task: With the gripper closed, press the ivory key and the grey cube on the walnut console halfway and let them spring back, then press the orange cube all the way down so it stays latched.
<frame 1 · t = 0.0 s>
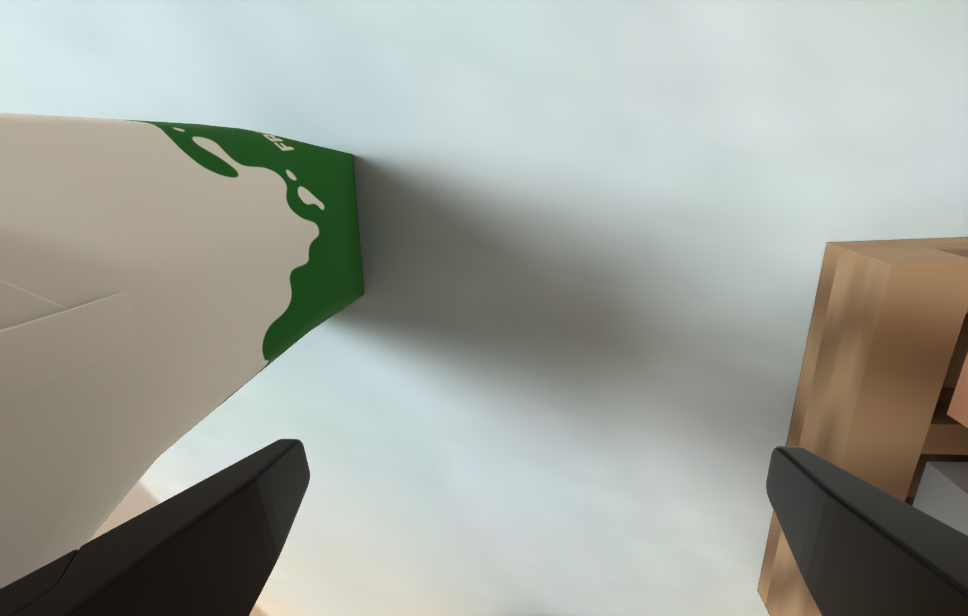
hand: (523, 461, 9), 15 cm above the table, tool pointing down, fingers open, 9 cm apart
milk carton: (296, 223, 23), on the table
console: (899, 444, 23), on the table
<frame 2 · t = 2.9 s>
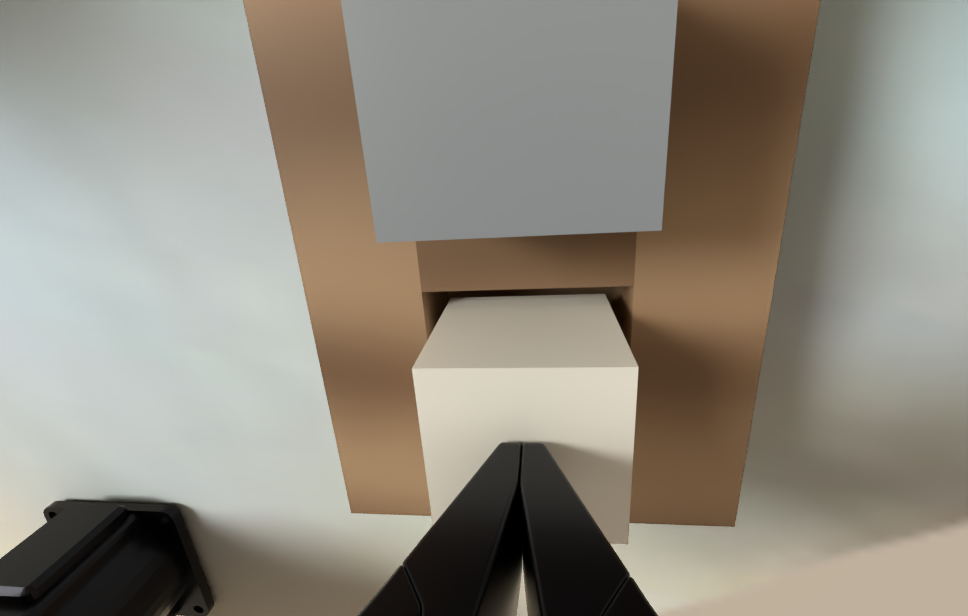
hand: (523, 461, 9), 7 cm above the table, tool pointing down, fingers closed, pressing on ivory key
grey cube: (514, 94, 7), point 6 cm above the table, slide at 0.2 cm
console: (523, 115, 13), on the table
ivory key: (527, 404, 10), point 5 cm above the table, slide at 1.0 cm, touching gripper
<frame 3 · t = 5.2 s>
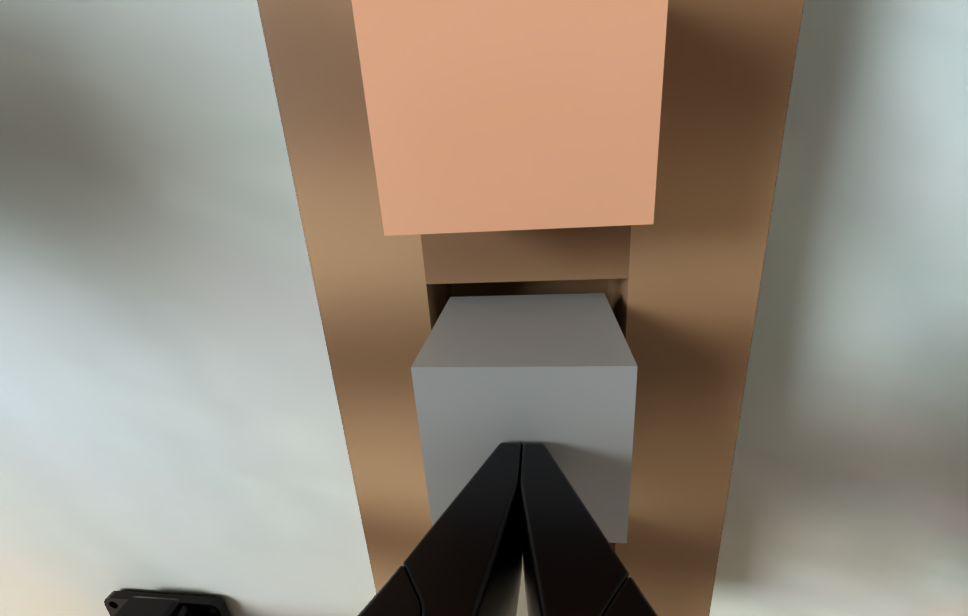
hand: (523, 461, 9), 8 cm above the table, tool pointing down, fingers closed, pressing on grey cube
grey cube: (526, 403, 10), point 6 cm above the table, slide at 0.4 cm, touching gripper
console: (529, 316, 16), on the table
orange cube: (514, 95, 8), point 6 cm above the table, slide at 0.0 cm
ivory key: (533, 602, 13), point 6 cm above the table, slide at 0.4 cm
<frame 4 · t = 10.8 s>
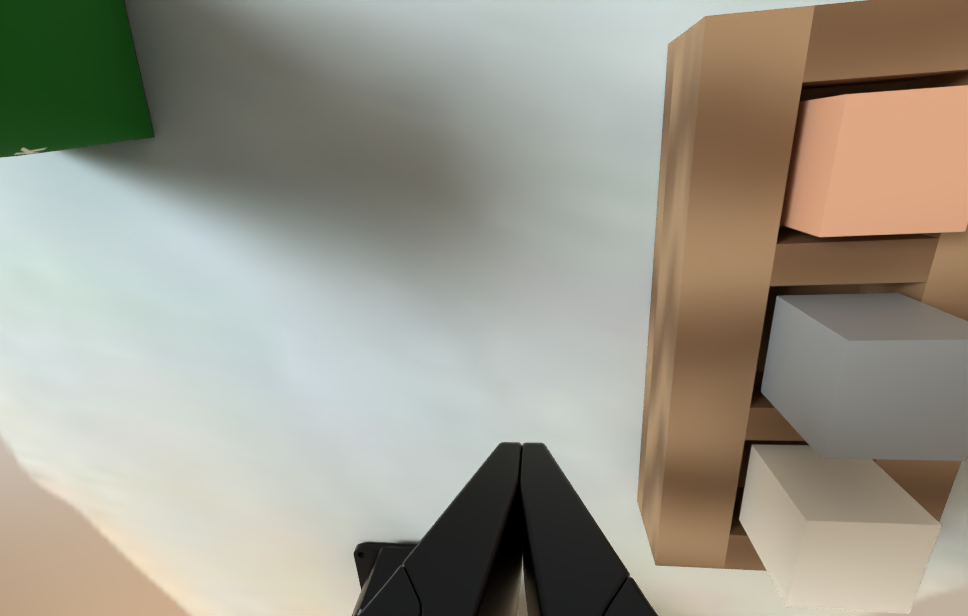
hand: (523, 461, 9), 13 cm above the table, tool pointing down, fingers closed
grey cube: (862, 370, 15), point 6 cm above the table, slide at 0.4 cm
milk carton: (67, 48, 20), on the table
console: (776, 311, 20), on the table
orange cube: (860, 162, 15), point 3 cm above the table, slide at 2.6 cm
ivory key: (823, 521, 17), point 6 cm above the table, slide at 0.4 cm
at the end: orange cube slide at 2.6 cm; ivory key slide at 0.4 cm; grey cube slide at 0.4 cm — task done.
